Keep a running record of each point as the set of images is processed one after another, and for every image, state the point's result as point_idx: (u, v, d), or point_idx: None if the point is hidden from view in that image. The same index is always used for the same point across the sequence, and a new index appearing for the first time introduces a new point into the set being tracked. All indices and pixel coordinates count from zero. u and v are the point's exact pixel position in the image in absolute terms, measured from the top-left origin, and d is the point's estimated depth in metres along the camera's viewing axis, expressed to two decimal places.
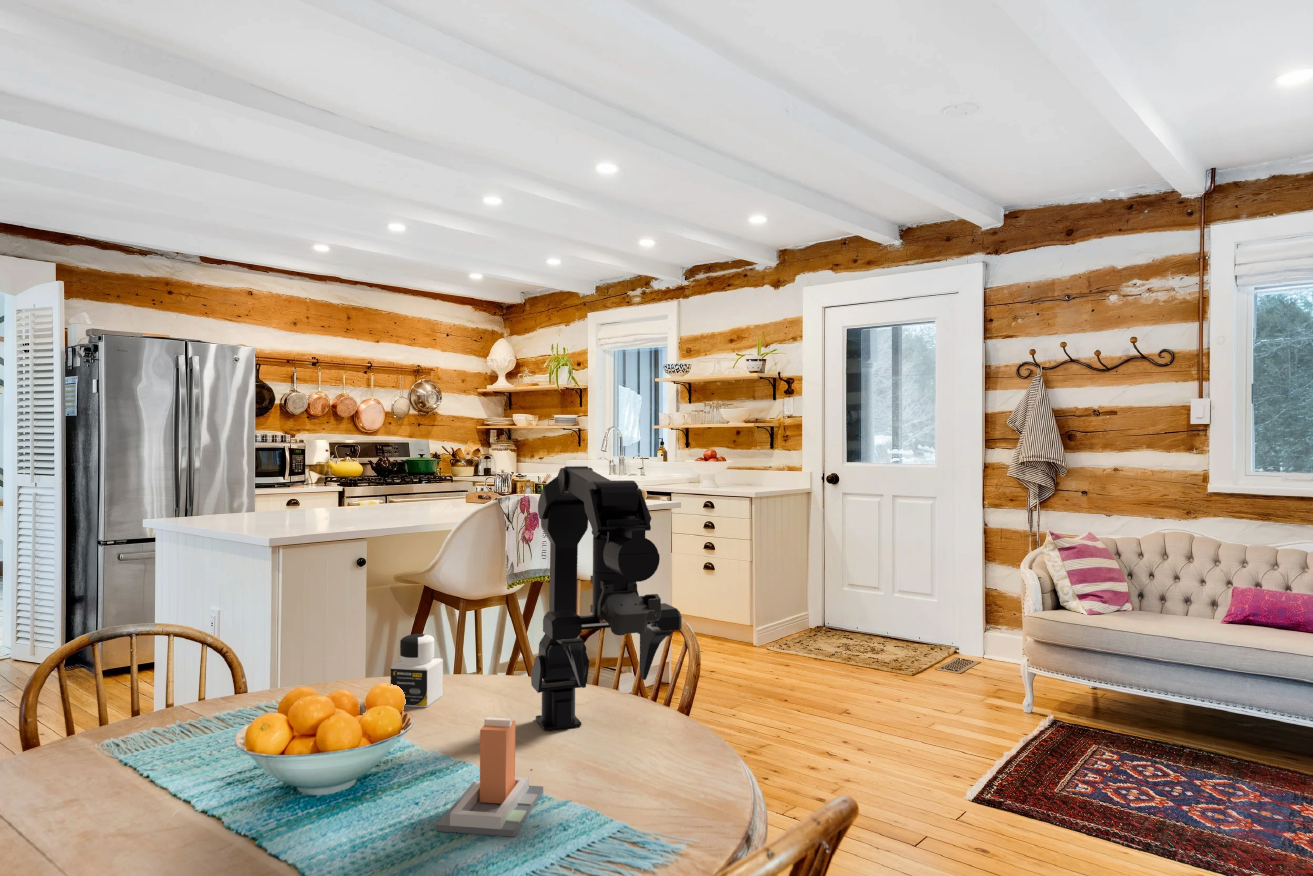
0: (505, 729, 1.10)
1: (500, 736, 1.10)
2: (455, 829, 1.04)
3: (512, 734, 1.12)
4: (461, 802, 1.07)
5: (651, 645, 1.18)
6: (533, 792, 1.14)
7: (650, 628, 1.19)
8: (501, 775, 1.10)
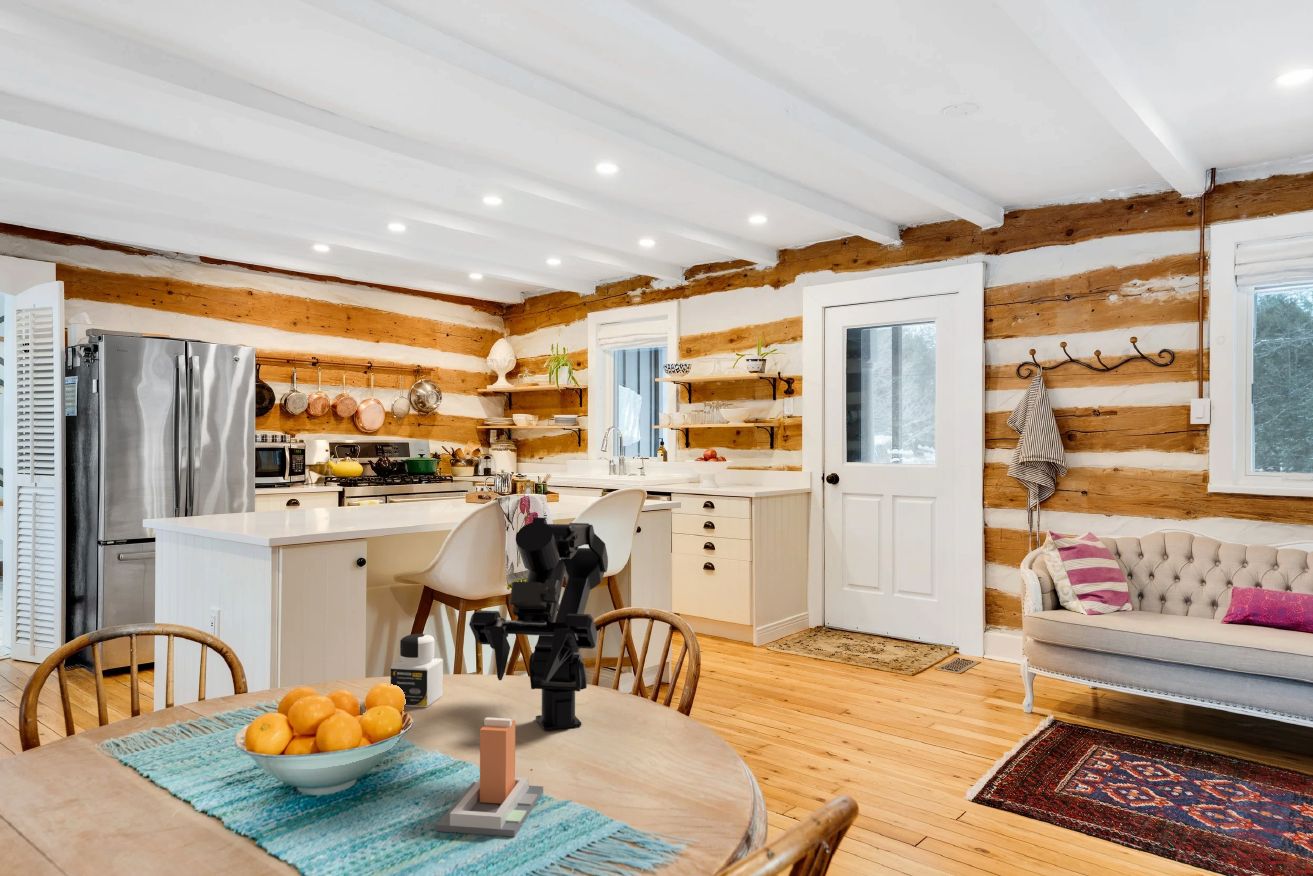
0: (505, 729, 1.10)
1: (500, 736, 1.10)
2: (455, 829, 1.04)
3: (512, 734, 1.12)
4: (461, 802, 1.07)
5: (554, 645, 1.24)
6: (533, 792, 1.14)
7: None
8: (501, 775, 1.10)
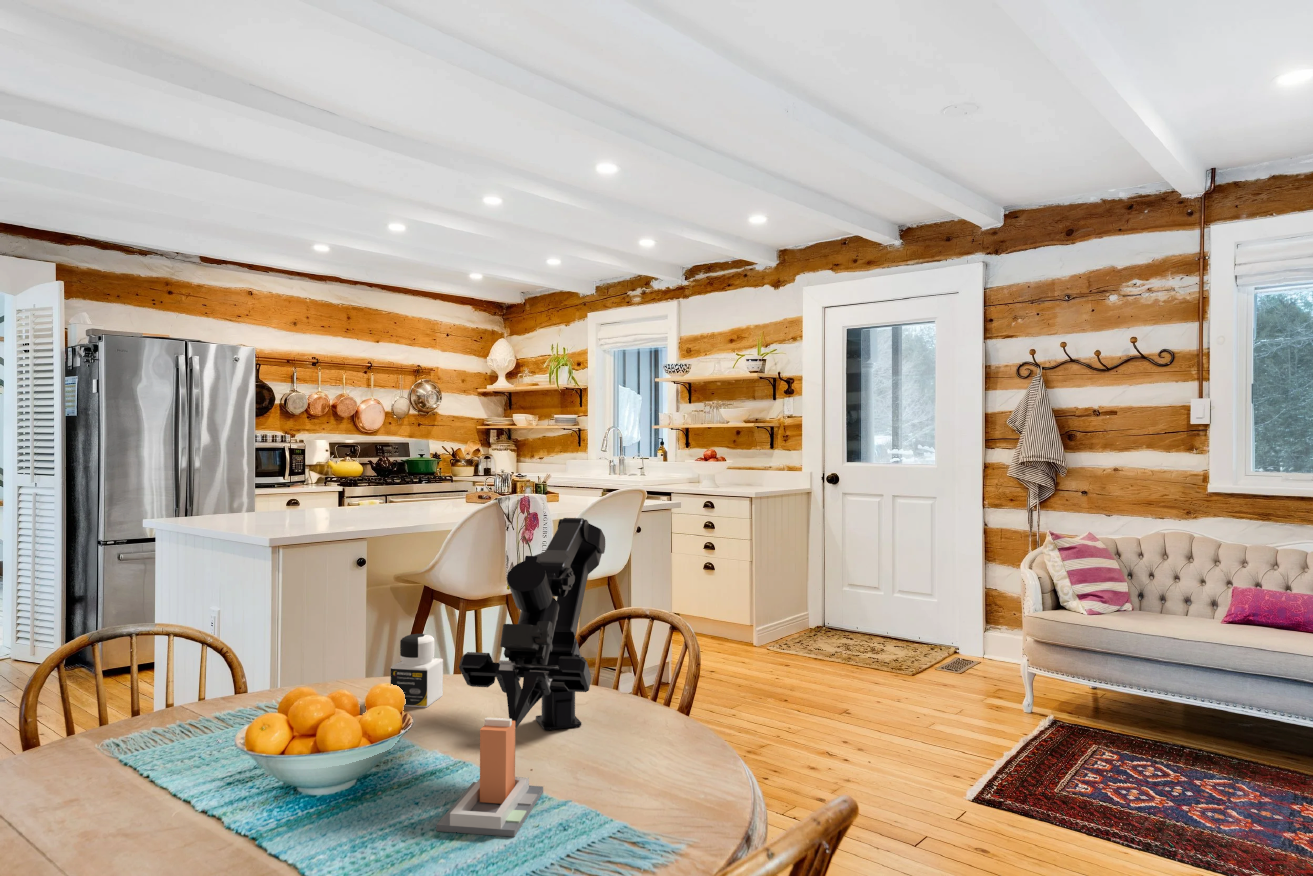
0: (505, 729, 1.10)
1: (500, 736, 1.10)
2: (455, 829, 1.04)
3: (512, 734, 1.12)
4: (461, 802, 1.07)
5: (524, 688, 1.21)
6: (533, 792, 1.14)
7: None
8: (501, 775, 1.10)
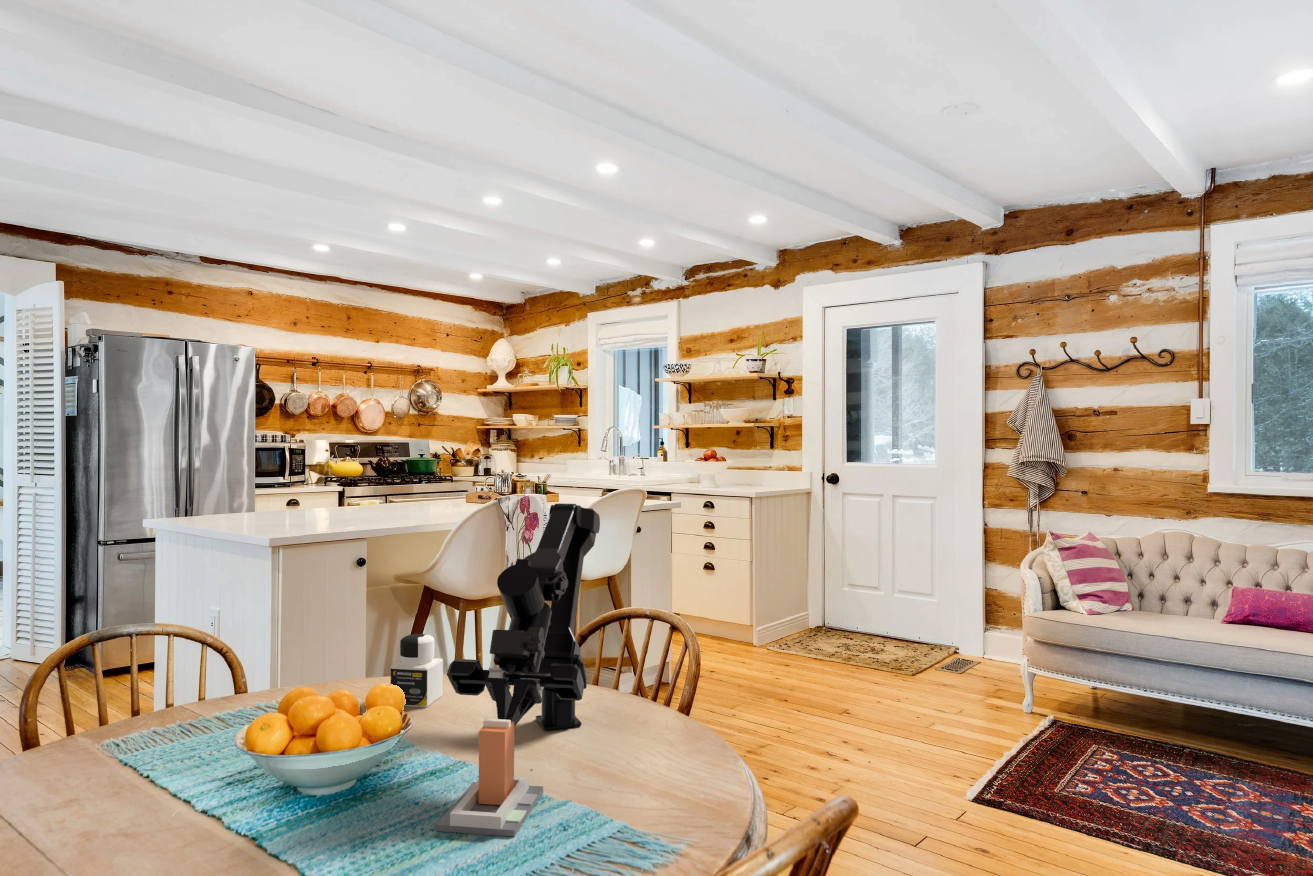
0: (504, 730, 1.10)
1: (499, 737, 1.09)
2: (455, 829, 1.04)
3: (511, 735, 1.12)
4: (461, 802, 1.07)
5: (514, 696, 1.16)
6: (533, 792, 1.14)
7: None
8: (500, 776, 1.09)
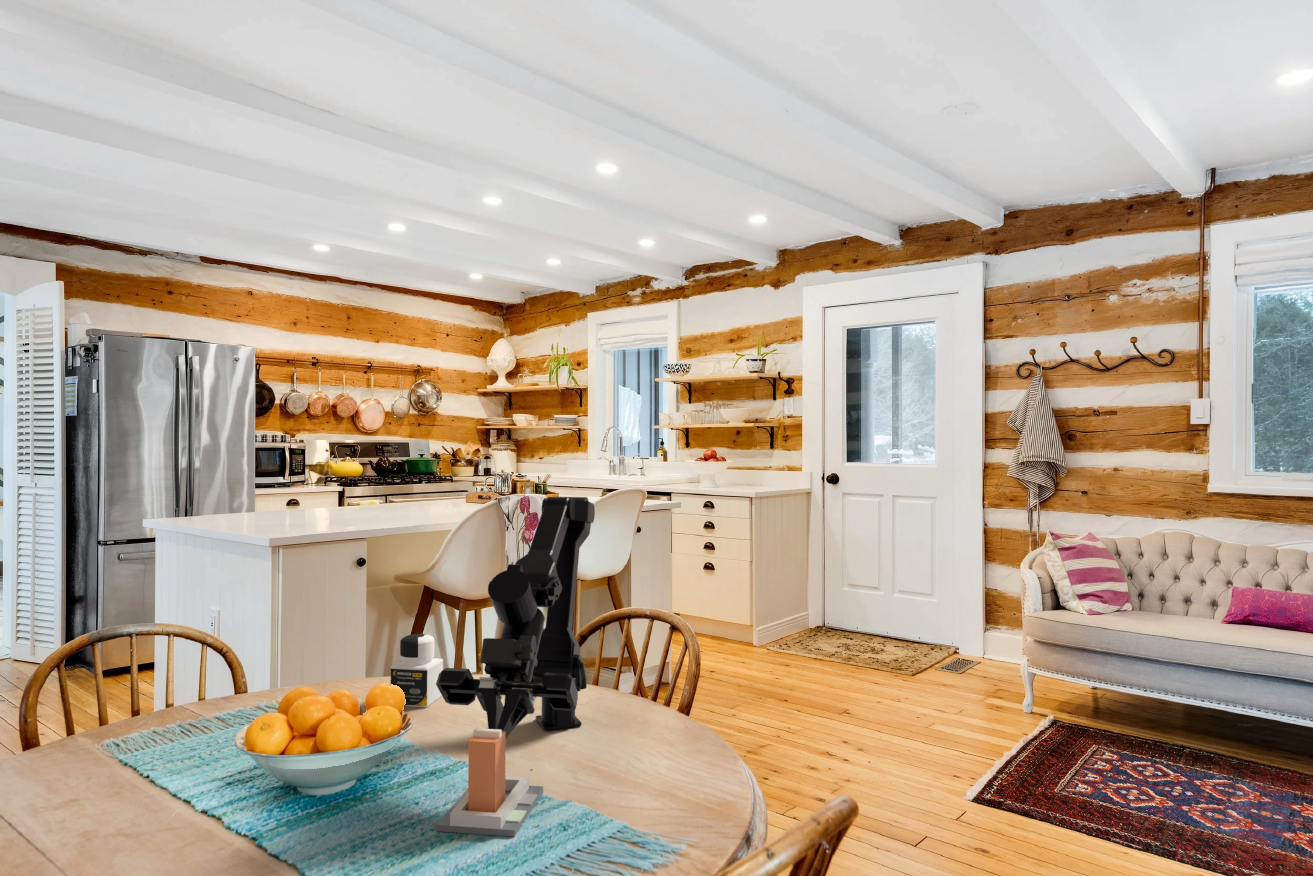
0: (494, 741, 1.06)
1: (489, 748, 1.06)
2: (455, 829, 1.04)
3: (502, 746, 1.08)
4: (461, 802, 1.07)
5: (505, 707, 1.12)
6: (533, 792, 1.14)
7: None
8: (491, 788, 1.06)
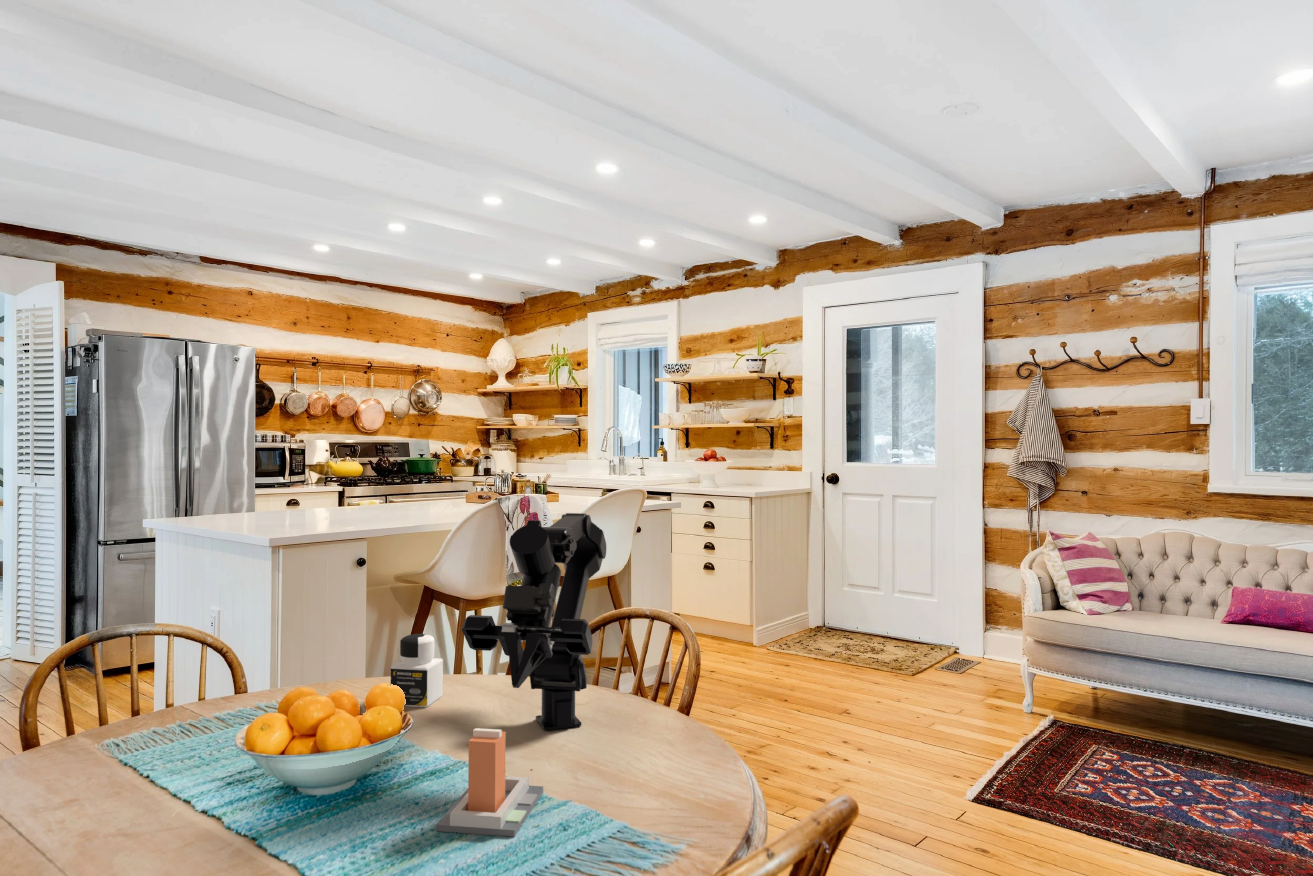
0: (494, 741, 1.06)
1: (489, 748, 1.06)
2: (455, 829, 1.04)
3: (502, 746, 1.08)
4: (461, 802, 1.07)
5: (526, 649, 1.22)
6: (533, 792, 1.14)
7: None
8: (491, 788, 1.06)
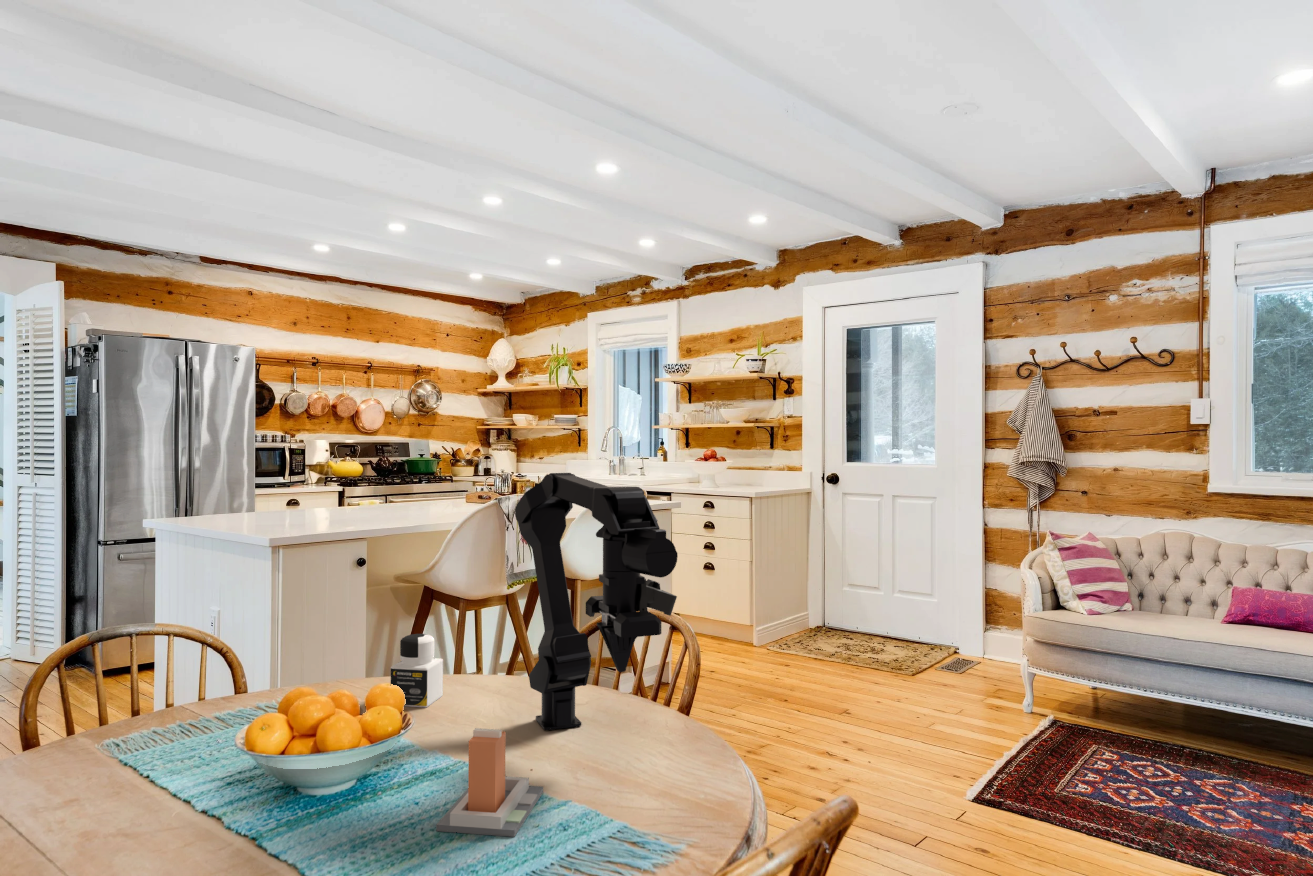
0: (494, 741, 1.06)
1: (489, 748, 1.06)
2: (455, 829, 1.04)
3: (502, 746, 1.08)
4: (461, 802, 1.07)
5: None
6: (533, 792, 1.14)
7: None
8: (491, 788, 1.06)
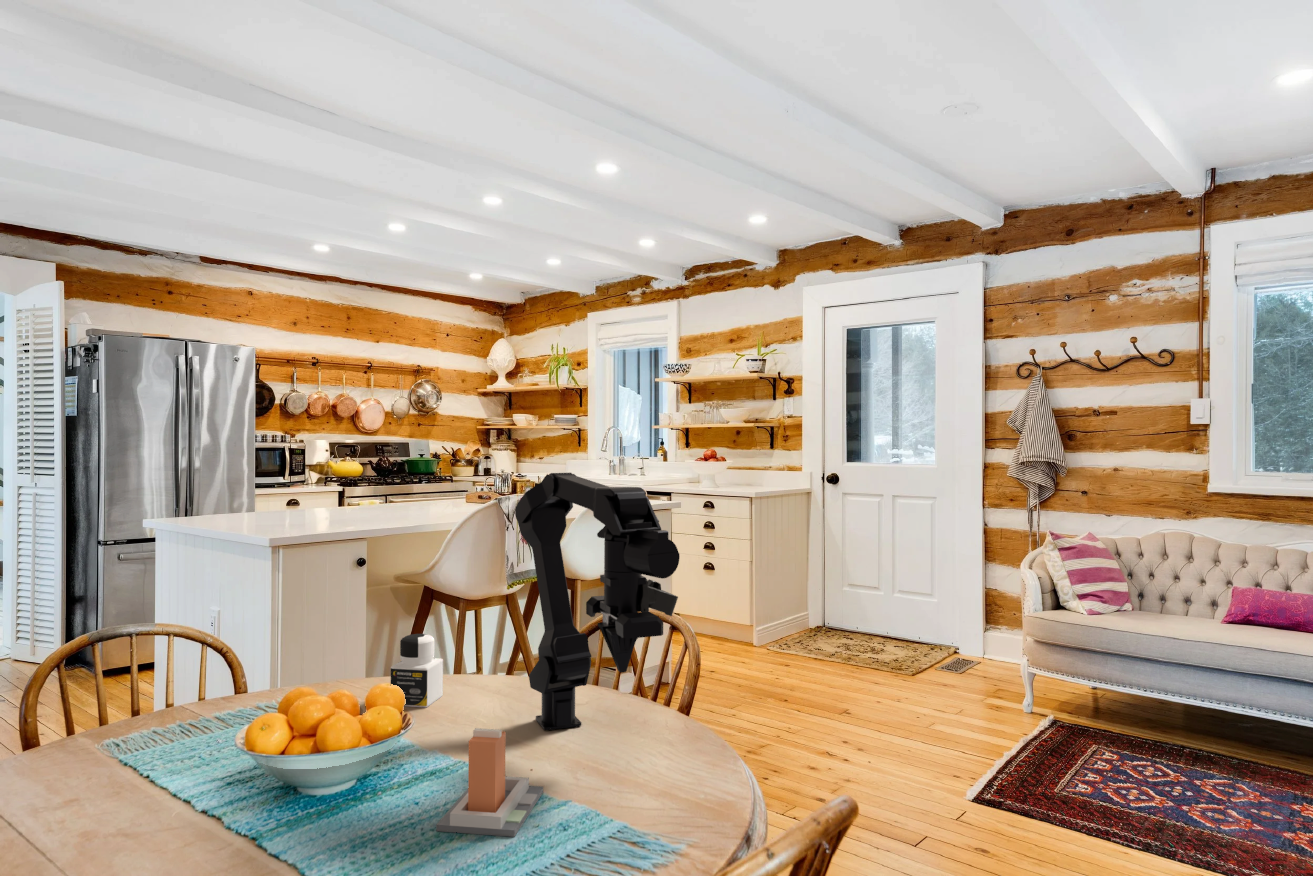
0: (494, 741, 1.06)
1: (489, 748, 1.06)
2: (455, 829, 1.04)
3: (502, 746, 1.08)
4: (461, 802, 1.07)
5: None
6: (533, 792, 1.14)
7: None
8: (491, 788, 1.06)
